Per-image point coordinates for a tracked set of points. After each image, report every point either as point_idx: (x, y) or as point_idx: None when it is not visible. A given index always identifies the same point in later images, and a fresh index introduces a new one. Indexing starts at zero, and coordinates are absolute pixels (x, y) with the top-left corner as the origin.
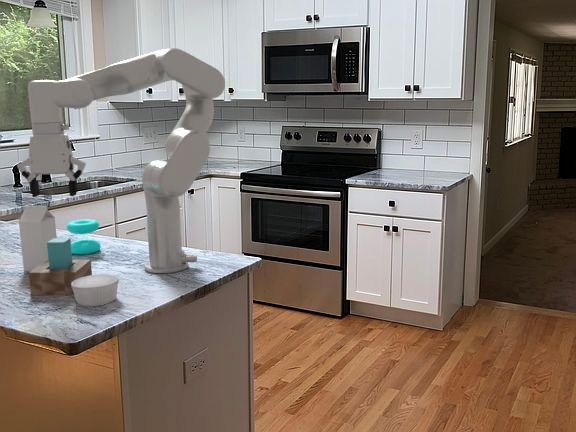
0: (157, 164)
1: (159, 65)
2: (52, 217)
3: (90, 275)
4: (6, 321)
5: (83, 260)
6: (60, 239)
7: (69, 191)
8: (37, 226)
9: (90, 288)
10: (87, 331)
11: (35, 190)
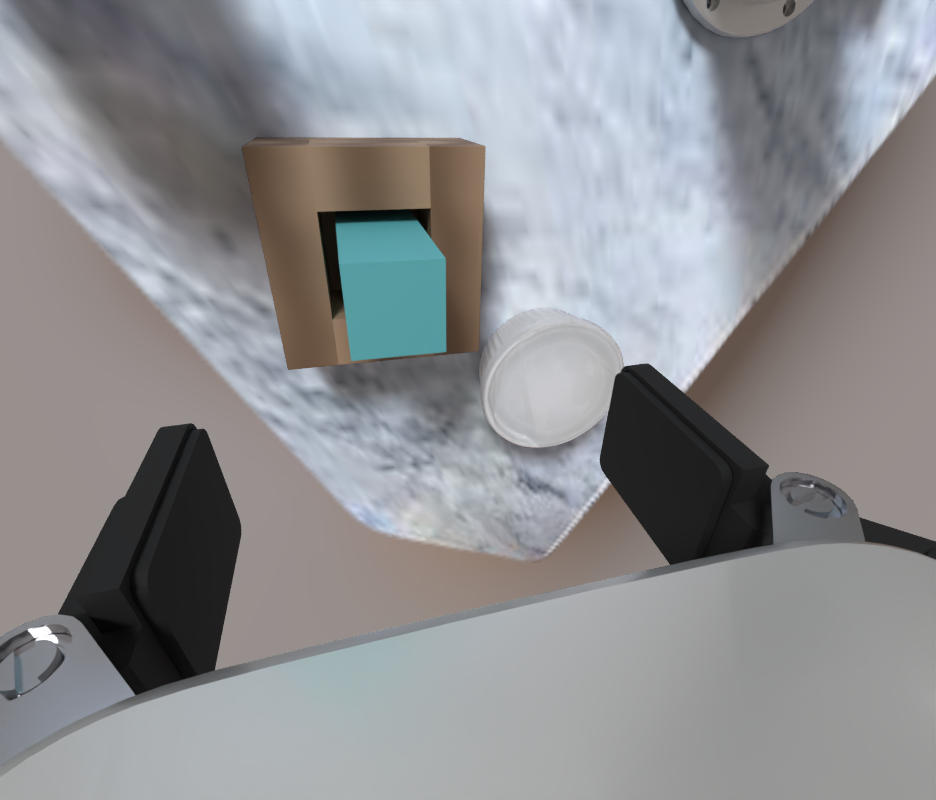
0: None
1: None
2: None
3: (527, 338)
4: (354, 511)
5: (453, 164)
6: (398, 293)
7: (621, 495)
8: None
9: (554, 444)
10: (554, 521)
11: (224, 567)
